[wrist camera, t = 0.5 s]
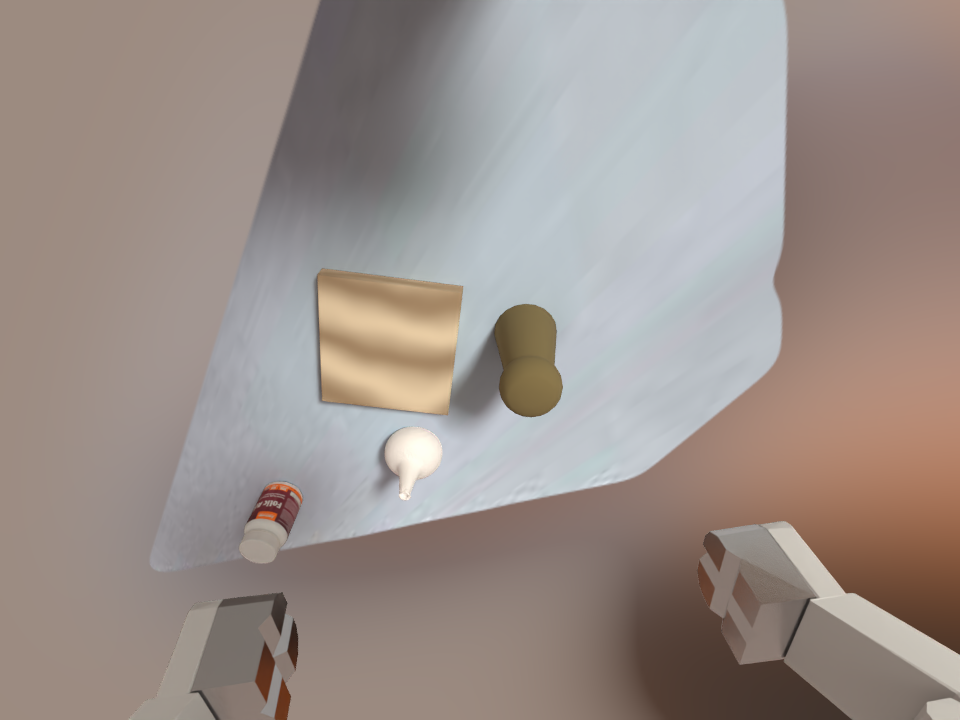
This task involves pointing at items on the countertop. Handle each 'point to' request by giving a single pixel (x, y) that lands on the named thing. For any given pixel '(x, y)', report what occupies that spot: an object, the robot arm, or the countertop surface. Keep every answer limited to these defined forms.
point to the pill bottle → (270, 522)
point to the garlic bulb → (412, 456)
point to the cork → (528, 360)
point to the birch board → (387, 340)
